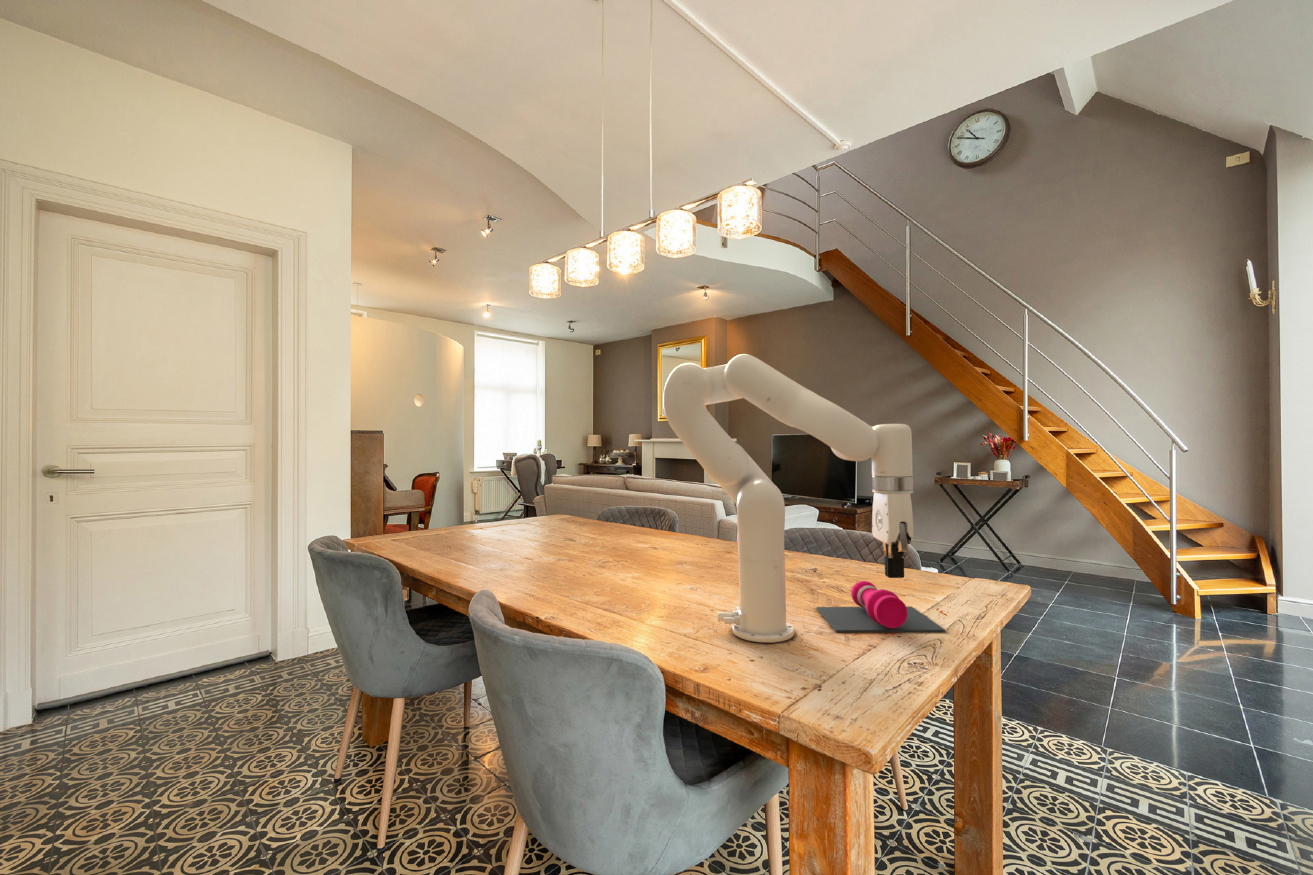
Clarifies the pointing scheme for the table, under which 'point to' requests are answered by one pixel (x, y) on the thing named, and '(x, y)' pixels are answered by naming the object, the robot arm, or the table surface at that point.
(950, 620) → the table surface
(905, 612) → the pepper mill
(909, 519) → the robot arm
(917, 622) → the mat
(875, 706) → the table surface
